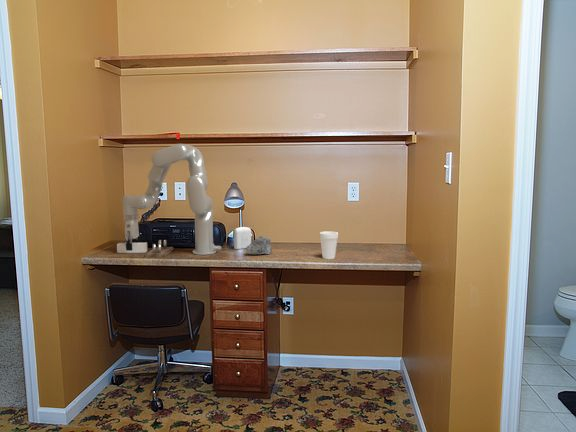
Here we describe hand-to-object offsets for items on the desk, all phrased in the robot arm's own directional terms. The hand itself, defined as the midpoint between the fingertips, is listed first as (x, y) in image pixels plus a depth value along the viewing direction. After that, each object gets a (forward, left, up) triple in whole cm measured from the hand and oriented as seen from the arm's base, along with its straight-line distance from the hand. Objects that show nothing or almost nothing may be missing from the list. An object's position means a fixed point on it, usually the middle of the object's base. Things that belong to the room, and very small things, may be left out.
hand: (132, 248), depth 246 cm
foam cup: (-106, +19, -2) cm, 108 cm away
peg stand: (-16, +4, -2) cm, 17 cm away
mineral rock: (-70, +9, -2) cm, 71 cm away
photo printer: (-60, -8, -2) cm, 61 cm away
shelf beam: (0, 0, -2) cm, 2 cm away
